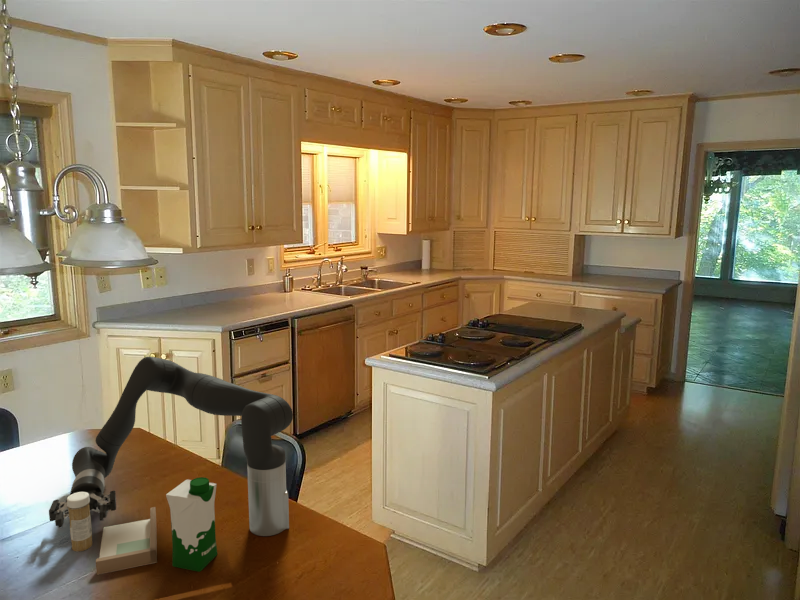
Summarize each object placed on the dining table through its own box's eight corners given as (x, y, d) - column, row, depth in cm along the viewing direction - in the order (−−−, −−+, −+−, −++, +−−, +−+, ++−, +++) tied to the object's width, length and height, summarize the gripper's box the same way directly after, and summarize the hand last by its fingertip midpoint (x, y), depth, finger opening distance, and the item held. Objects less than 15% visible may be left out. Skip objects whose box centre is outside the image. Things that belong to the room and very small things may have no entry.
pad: (149, 538, 142) (149, 538, 142) (149, 555, 136) (149, 554, 136) (117, 544, 139) (117, 544, 139) (115, 561, 133) (115, 560, 133)
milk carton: (201, 578, 129) (196, 492, 126) (165, 570, 131) (160, 486, 128) (223, 555, 137) (220, 474, 134) (189, 548, 140) (185, 468, 136)
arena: (156, 520, 151) (155, 506, 151) (156, 565, 133) (155, 549, 132) (103, 530, 147) (102, 516, 146) (97, 577, 129) (95, 561, 128)
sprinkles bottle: (76, 544, 141) (71, 491, 139) (96, 543, 141) (92, 490, 139) (68, 555, 136) (62, 501, 134) (88, 554, 137) (84, 500, 135)
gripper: (54, 480, 150) (44, 511, 135) (117, 470, 155) (113, 499, 140) (57, 507, 151) (47, 541, 136) (119, 497, 156) (115, 529, 142)
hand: (80, 520), depth 138 cm, fingers open, 8 cm apart
